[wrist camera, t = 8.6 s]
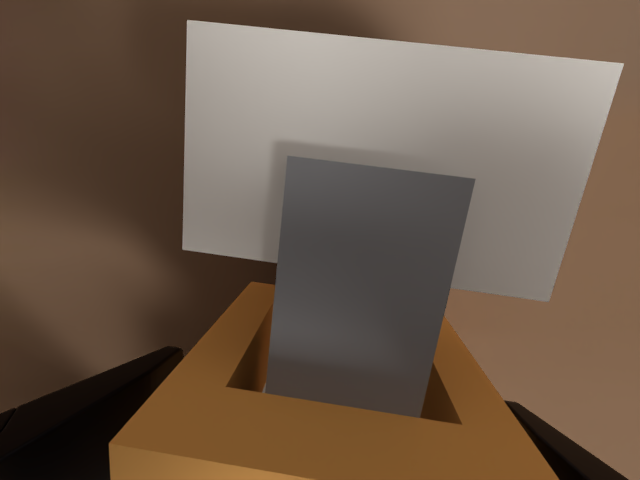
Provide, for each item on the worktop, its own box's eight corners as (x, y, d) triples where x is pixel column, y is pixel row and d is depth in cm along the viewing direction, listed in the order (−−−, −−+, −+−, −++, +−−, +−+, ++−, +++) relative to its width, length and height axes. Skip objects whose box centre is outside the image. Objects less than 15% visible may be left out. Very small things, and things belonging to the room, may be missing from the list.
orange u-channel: (438, 307, 11) (593, 528, 4) (422, 378, 12) (534, 670, 5) (251, 281, 11) (108, 443, 4) (246, 351, 12) (116, 585, 5)
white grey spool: (275, 106, 11) (170, 3, 4) (462, 128, 11) (656, 50, 4) (247, 449, 15) (163, 682, 8) (388, 474, 14) (425, 740, 8)
